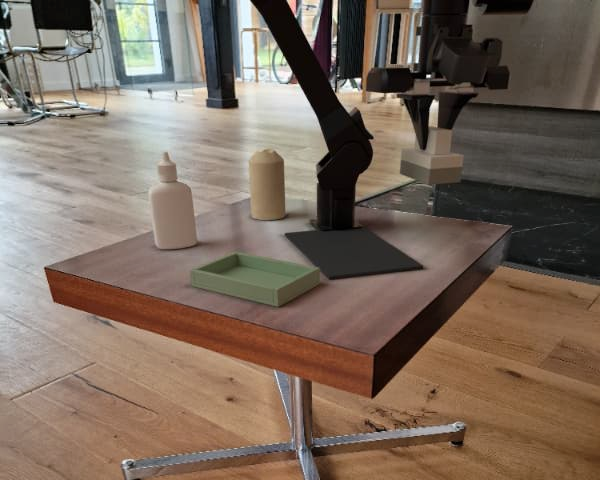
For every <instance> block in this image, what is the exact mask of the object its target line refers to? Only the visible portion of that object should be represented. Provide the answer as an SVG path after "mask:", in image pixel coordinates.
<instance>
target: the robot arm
mask: <svg viewBox="0 0 600 480" xmlns="http://www.w3.org/2000/svg"><path fill="white" fill-rule="evenodd" d="M249 1H250V3H251V4H252V5H253V6H254V8H255V9H256V10H257V12H258V13H259V14H260V15H261V17H262V19H263V21H264V23H265V24H266V26H267V28H268V29H269V30H268V31H269V32H270V34H271V36H272V37H273V39H274V41H275V43H276V44H277V47H278V48H279V50H280V52H281V54H282V56H283V58H284V59H285V61H286V63H287V64H288V67H289V69H290V70H291V72H292V74H293V76H294V77H295V79H296V81H297V83H298V85H299V87H300V88H301V90H302V92H303V95H304V96H305V98H306V100H307V101H308V103H309V106H310V107H311V109H312V110H313V112H314V114H315V116H316V119H317V122H318V124H319V128H320V130H321V133H322V136H323V139H324V142H325V144H326V148H327V153H326V154H324V155H323V156H322V158H321V159H320V160H319V161H318V162H317V163H316V164H315V172H316V173H315V174H316V178H317V182H316V218H315V219H314V218H313V219H309V224H310V225H311V226H312V227H314V229H315V230H320V231H335V230H346V229H356V228H362V227H364V226H363V225H362V224H361V223H359V222H357V221H356V219H355V218H356V189H357V183H358V180H359V178H360V175H362V174H363V173H365V172H366V171H367V170H369V169H368V168H369V167H370V165H371V164H372V161H373V158H374V148H373V145H372V143H371V141H370V140H374V139H375V137H374V136H373V134H372V133H371V132H370V130H368V129H367V127H366V124H365V122H364V118H363V116H362V113H361V111H360V109H359V108H358V107H357V106H355V107H353V108H352V109H351V110H350V111H349V112H348V110H347V109H346V108H345V107H344V105H343V104H342V103H341V101H340V99H339V98H338V96H337V94H336V92H335V90H334V88H333V86H332V84H331V83H330V80H329V79H328V77H327V75H326V72H325V71H324V69H323V67H322V65H321V63H320V61H319V59H318V57H317V55H316V54H315V52H314V50H313V48H312V46H311V44H310V42H309V40H308V38H307V36H306V34H305V32H304V30H303V29H302V27H301V25H300V23H299V21H298V19H297V17H296V16H295V14H294V11H293V9H292V8H291V6H290V4H289V2H288V0H249ZM470 1H471V3H472V6H474V8H478V13H479V16H513V15H514V16H515V15H516V16H518V15H521V16H522V15H523V16H524V15H527V14H528V13H529V12H530V11H531V8H532V6H533V3H534V1H535V0H422V12H421V22H420V23H421V24H420V26H416V29H415V36H416V37H419V48H418V61H417V62H413V68H412V70H411V67H405V66H404V67H403V66H402V67H401V66H387V67H386V66H385V67H383V66H382V67H371V68H370V70H369V71H368V73H367V75H366V79H365V92H369V93H377V94H396V98H397V99H402V101H403V104H404V106H405V108H406V110H407V113H408V115H409V118H410V120H411V124H412V128H413V131H414V134H415V137H417V140H418V144H419V147H420V149H421V150H426V146H427V141H428V129H429V126H430V125H429V124H430V113H431V107H432V105H433V102H434V100H435V97H436V95H435V94H430V89H431V88H435V87H444V88H445V89H444V91H439V92H438V106H437V125H436V127H438V128H443V129H448V130H452V131H453V128H454V125H455V124H456V122H457V119H458V118H459V115H461V114H460V113H461V111H462V110H463V108H464V107H465V106H466V105H467V104H468V103H469V102H470V101H471V100H472V99H475V98H478V97H479V92H474V90H475V89H477V88H479V89H480V88H481V89H482V88H486V89H487V90H489V91H498V90H499V91H500V90H509V89H510V83H511V76H512V75H511V71H510V69H509V67H508V65H506V64H505V65H504V64H503V65H502V64H501V60H502V56H503V55H502V54H503V45H504V41H503V40H501V39H500V38H499V37H485V38H484V39H483V40H482V42H481V41H479V42H476V41H474V40H473V34H474V33H473V32H474V29H473V24H468V18H469V11H470ZM500 64H501V65H500ZM433 73H434V74H433ZM432 74H433V77H427V76H431V75H432Z"/></svg>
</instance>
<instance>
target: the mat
mask: <svg viewBox="0 0 600 480" xmlns="http://www.w3.org/2000/svg"><path fill="white" fill-rule="evenodd" d="M284 237H285V238H287V239H288V241H289V242H290V243H292V245H294V246H295V248H297V249H298V250H299V252H301V253H302V254H303V255H304V256H305V257H306V258H307V259H308V260H309V261H310V262H311V264H313V265H314V267H318V268H320V273H322V274H323V275H324V276H325V277H326V278H327V280H338V279H345V278H346V279H347V278H355V277H363V276H371V275H380V274H388V273H389V274H390V273H398V272H407V271H415V270H423V269H424V265H423V264H422V263H420V262H419V261H417V260H415V259H414V258H412V257H411V256H409V255H408V254H406V253H405V252H403V251H402V250H400V249H399V248H397V247H395V246H394V245H393V244H391V243H389V242H387V240H385V239H383V238H382V237H380V236H379V235H377V234H375V233H374V232H372V231H371V230H369V229H368V228H367V227H365V226H363V227H362V228H356V229H346V230H335V231H320V230H317V229H314V230H313V229H311V230H302V231H301V230H300V231H291V232H284Z"/></svg>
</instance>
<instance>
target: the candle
mask: <svg viewBox="0 0 600 480" xmlns="http://www.w3.org/2000/svg"><path fill="white" fill-rule="evenodd" d="M248 173H249V174H248V177H249V194H250V196H249V197H250V210H251V211H250V213H251V218H252V219H254V220H259V221H275V220H281V219H283V218H285V217H286V184H285V183H286V182H285V181H286V179H285V159H284V158H283V157H282V156H281V155H280V154H279V153H277V151H276V150H274V148H267V149H263V150H261V151H259V150H256V151H255V152H254V153H253V155H252V156H251V157H250V158H249V159H248Z"/></svg>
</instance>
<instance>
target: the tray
mask: <svg viewBox="0 0 600 480" xmlns="http://www.w3.org/2000/svg"><path fill="white" fill-rule="evenodd" d="M189 277H190V285H191V287H194V288H199V289H203V290H206V291H210V292H215V293H218V294H219V293H220V294H223V295H226V296H231V297H235V298H239V299H244V300H247V301H251V302H256V303H260V304H264V305H268V306H273V307H276V308H280V307H281V306H283V305H285V304H286V303H289V302H290V301H291V300H294V299H295V298H298V297H300V296H301V295H303V294H305V293H307V292H308V291H310V290H312V289H314V288H315V287H317V286H319V285H321V271H320V268H318V267H316V266H312V265H307V264H302V263H297V262H292V261H286V260H281V259H276V258H272V257H271V258H270V257H266V256H261V255H257V254H250V253H245V252H240V251H234V252H231V253H228V254H226V255H224V256H221V257H218V258H216V259H213V260H211V261H209V262H206V263H204V264H201V265H198V266H196V267H194V268H191V269H189Z"/></svg>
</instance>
